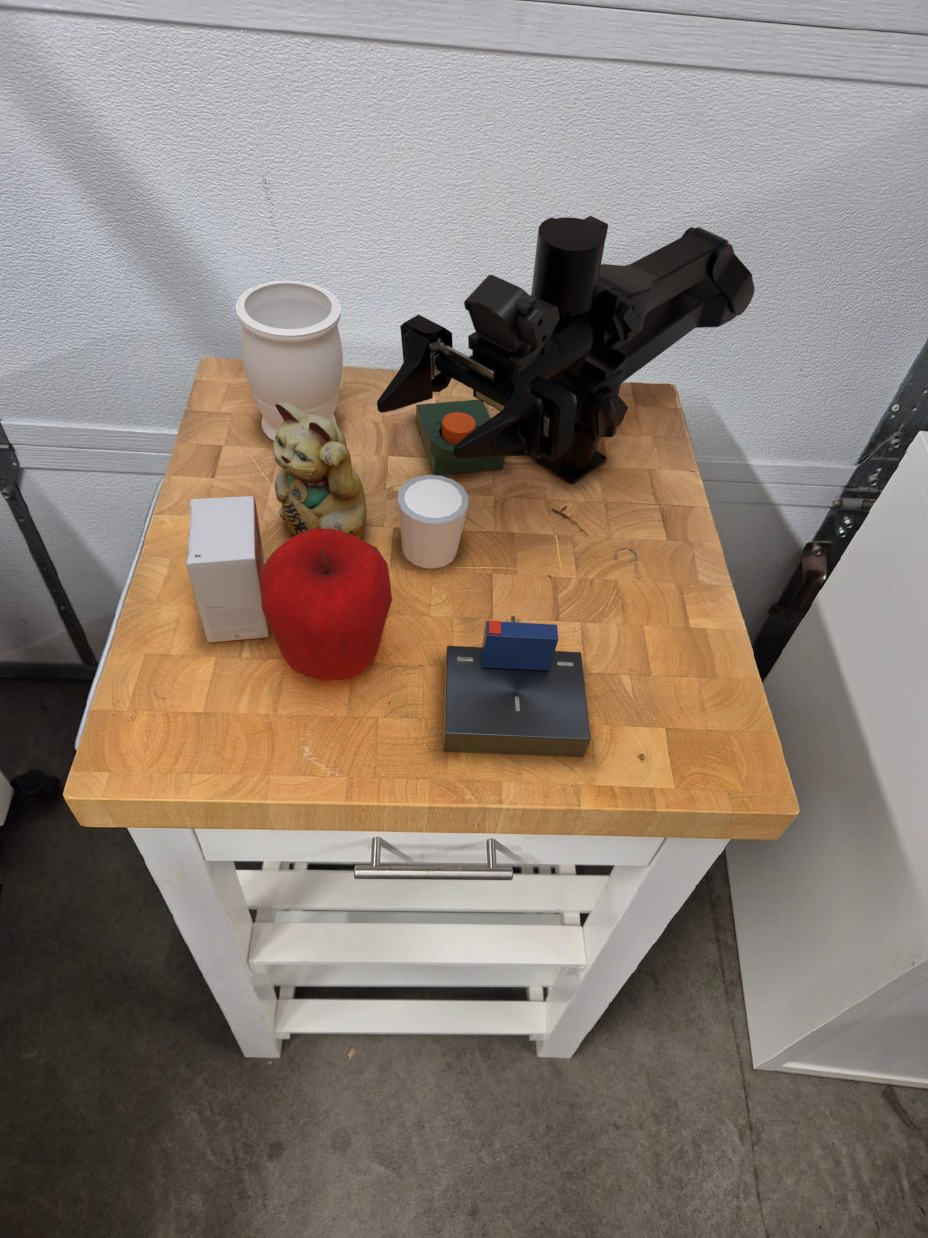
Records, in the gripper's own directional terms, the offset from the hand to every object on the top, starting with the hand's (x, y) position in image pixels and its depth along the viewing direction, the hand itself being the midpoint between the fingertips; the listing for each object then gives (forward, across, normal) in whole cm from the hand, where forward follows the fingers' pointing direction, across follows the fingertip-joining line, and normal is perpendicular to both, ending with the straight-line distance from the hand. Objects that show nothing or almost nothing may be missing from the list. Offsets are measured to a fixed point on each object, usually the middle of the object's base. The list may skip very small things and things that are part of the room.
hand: (415, 429), depth 68 cm
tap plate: (+5, +16, +18) cm, 24 cm away
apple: (+14, +2, +16) cm, 22 cm away
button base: (-16, -12, +17) cm, 27 cm away
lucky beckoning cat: (+4, -11, +16) cm, 20 cm away
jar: (-5, -26, +16) cm, 31 cm away
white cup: (-2, -2, +17) cm, 18 cm away
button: (-14, -9, +14) cm, 22 cm away
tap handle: (+4, +15, +15) cm, 22 cm away
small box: (+17, -8, +16) cm, 24 cm away
